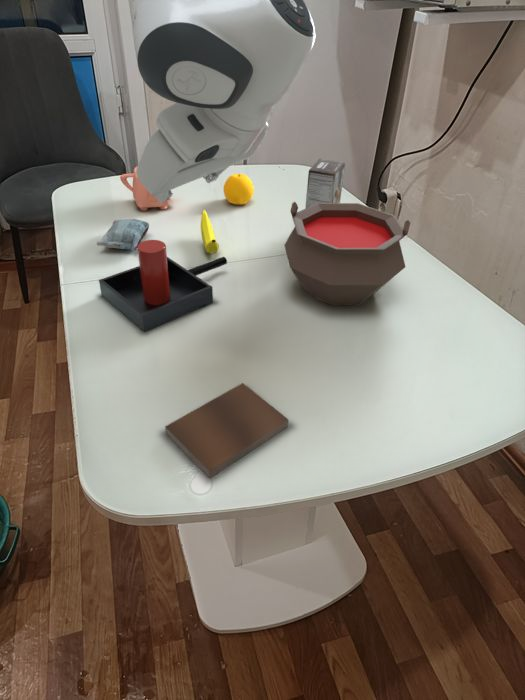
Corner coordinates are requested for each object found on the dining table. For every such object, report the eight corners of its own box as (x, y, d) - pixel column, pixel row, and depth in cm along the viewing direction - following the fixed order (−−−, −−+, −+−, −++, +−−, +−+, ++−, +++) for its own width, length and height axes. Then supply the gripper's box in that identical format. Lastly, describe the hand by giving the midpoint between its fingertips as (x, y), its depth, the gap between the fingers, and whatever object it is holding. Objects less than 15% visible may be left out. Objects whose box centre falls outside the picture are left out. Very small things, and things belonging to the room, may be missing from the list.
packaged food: (98, 254, 111) (94, 233, 108) (115, 230, 120) (112, 210, 117) (137, 257, 110) (135, 236, 107) (151, 233, 120) (150, 214, 117)
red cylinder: (153, 308, 95) (147, 255, 88) (138, 297, 98) (131, 244, 91) (175, 299, 98) (171, 247, 91) (160, 288, 100) (155, 237, 94)
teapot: (116, 203, 133) (111, 164, 126) (150, 191, 140) (147, 153, 134) (155, 219, 126) (151, 178, 120) (188, 205, 134) (186, 166, 127)
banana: (210, 228, 123) (210, 203, 119) (221, 267, 108) (221, 239, 105) (198, 229, 123) (197, 204, 119) (207, 268, 108) (207, 240, 104)
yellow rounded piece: (219, 205, 134) (218, 177, 130) (229, 194, 140) (229, 167, 136) (248, 209, 133) (248, 181, 128) (257, 199, 139) (258, 171, 134)
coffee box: (312, 222, 128) (319, 157, 118) (337, 227, 127) (346, 161, 117) (301, 237, 121) (308, 169, 111) (327, 242, 120) (336, 174, 110)
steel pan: (144, 332, 89) (141, 315, 87) (101, 295, 98) (98, 279, 96) (248, 287, 103) (248, 271, 100) (202, 258, 111) (202, 243, 109)
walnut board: (209, 478, 65) (209, 471, 64) (165, 433, 71) (165, 426, 70) (287, 426, 73) (288, 419, 72) (242, 390, 79) (242, 382, 78)
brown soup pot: (264, 305, 97) (268, 225, 87) (296, 251, 116) (303, 179, 106) (390, 332, 92) (410, 250, 82) (403, 270, 110) (421, 197, 100)
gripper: (263, 83, 69) (221, 152, 80) (147, 115, 57) (116, 191, 68) (291, 120, 69) (245, 184, 80) (181, 160, 57) (145, 228, 68)
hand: (185, 187), depth 74 cm, fingers open, 8 cm apart
